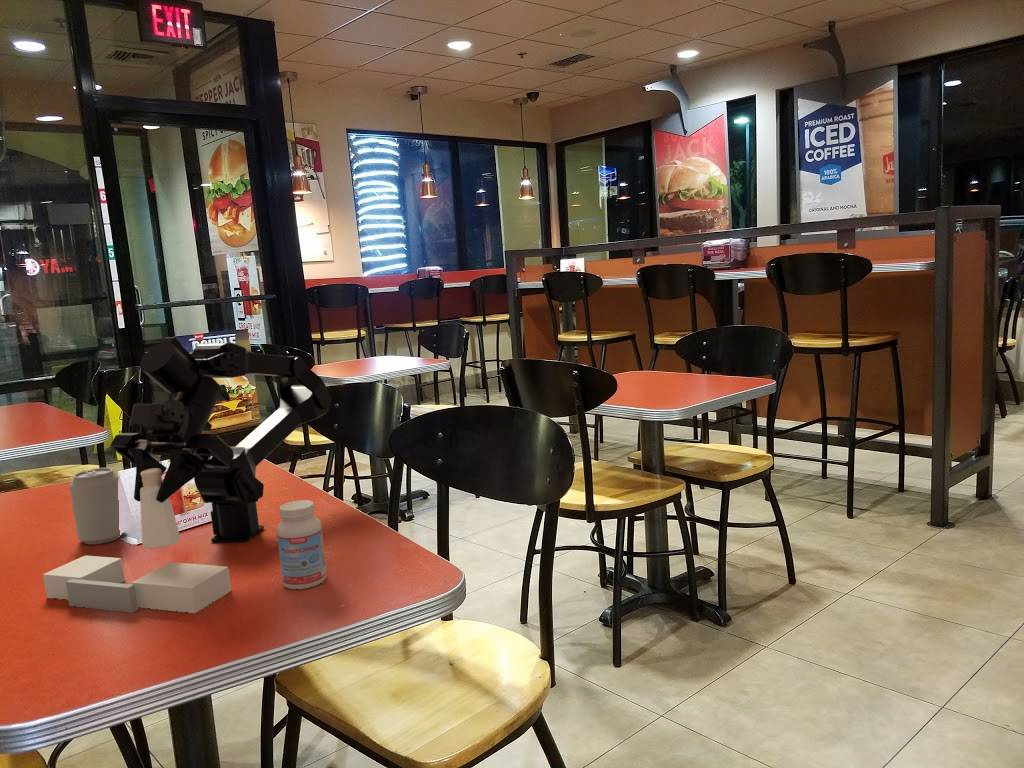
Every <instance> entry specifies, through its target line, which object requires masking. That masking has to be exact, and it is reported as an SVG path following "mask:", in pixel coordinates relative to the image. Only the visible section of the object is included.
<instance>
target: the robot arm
mask: <svg viewBox="0 0 1024 768" xmlns="http://www.w3.org/2000/svg"><path fill="white" fill-rule="evenodd" d="M139 368H140V370H141V371H142V372H143V373H144V374H145V375H147V376H148V377H149V378H150V379H151V380H152V381H154V382H155V384H157V385H158V386H160V388H162V389H163V390H164V391H165V392H166V393H169V394H177V396H176V397H175V399H174V400H173V399H171V400H165V402H164V404H155V403H134V404H133V406H132V410H131V416H130V421H129V427H134V428H136V427H138V428H142V429H145V430H147V432H146V434H148V435H149V436H150V437H151V438H155V441H150V440H149V439H147V438H146V437H145V436H144V435H143V434H141V433H140V432H121V433H118V434H116V435H115V436H114V437H113V440H112V442H111V443H110V445H109V447H110V449H111V450H113V451H115V452H116V453H117V454H118V455H120V456H121V457H123V458H124V459H126V460H127V461H128V462H129V463H131V464H132V465H135V481H134V482H135V483H134V492H133V499H134V500H135V501H137V502H140V489H141V488H142V487H144V486H143V482H142V477H141V474H140V473H141V472H142V471H144V470H147V469H152V468H159V469H161V470H162V472H161V475H162V476H163V475H164V473H165V472H166V473H165V475H164V477H163V478H162V484H161V486H160V489H159V491H158V494H157V498H156V500H157V501H159V502H160V503H162V502H164V501H165V500H166V499H168V498H169V497H171V496H172V495H174V494H175V493H176V492H177V491H179V490H180V489H181V488H182V487H184V486H185V485H186V484H187V483H189V482H191V481H192V480H194V484H195V488H196V489H197V491H198V493H199V494H200V496H201V499H202V501H203V503H205V504H208V503H211V509H212V510H210V519H211V525H212V527H211V528H212V532H213V537H211V538H210V541H211V542H213V543H214V542H215V543H217V542H247V541H249V540H251V539H252V538H253V537H255V536H256V535H257V534H258V533H260V532H261V531H263V529H264V528H265V526H264V525H263V524H260V523H259V516H258V508H257V507H258V506H257V502H259V499H261V498H262V497H264V487H265V485H264V484H263V482H261V481H260V480H259V478H257V477H256V471H257V466H259V464H261V463H262V461H264V460H265V459H266V458H267V457H268V456H270V454H271V453H272V452H273V451H275V449H276V448H277V447H278V446H279V445H281V444H282V442H284V441H285V440H286V439H287V438H288V437H289V436H290V435H291V434H292V433H293V432H294V431H295V430H296V429H297V428H298V427H299V426H301V425H302V424H305V423H309V422H312V421H314V420H317V419H319V418H320V417H322V416H323V415H325V414H327V412H328V411H329V409H330V407H331V403H332V395H331V393H330V391H329V389H328V387H327V385H326V383H325V382H324V380H323V378H321V377H320V376H319V375H317V374H316V373H315V372H314V371H313V370H311V369H310V368H309V367H308V366H307V364H306V362H305V360H304V359H303V358H302V357H300V356H298V355H279V354H278V355H276V354H269V353H261V352H260V353H259V352H253V351H250V350H248V349H247V348H246V347H245V346H242V345H239V344H237V343H233V342H217V343H216V342H213V343H211V342H210V343H209V342H208V343H198V344H196V345H195V347H194V349H193V351H192V352H189V350H187V349H186V348H185V346H183V345H182V343H181V342H180V341H179V340H178V339H177V338H176V337H174V336H173V337H164V338H163V339H162V341H161V343H159V344H156V345H155V346H152V348H151V349H149V350H148V351H147V352H145V353H144V354H143V355H142V356H141V359H140V361H139ZM246 375H256V376H270V377H275V379H276V381H277V389H276V392H277V394H278V395H279V397H280V398H279V407H278V408H277V410H275V411H274V412H273V413H272V414H271V415H269V416H268V418H266V419H265V420H264V421H262V423H261V424H259V425H258V426H257V427H256V428H255V429H254V430H253V431H252V432H250V433H249V434H248V435H247V436H246V437H244V438H243V440H241V441H240V442H239V443H238V444H237V445H235V446H230V445H228V443H227V442H225V440H224V439H222V438H221V437H220V436H219V435H218V434H217V433H203V432H210V431H211V430H212V427H213V424H211V423H210V422H209V420H210V418H211V416H212V413H213V411H214V410H215V407H216V405H217V403H218V402H229V401H230V400H231V397H230V393H229V392H228V389H227V385H226V384H219V383H218V382H217V381H216V379H228V378H229V379H231V378H237V377H244V376H246ZM289 378H290V379H291V378H294V379H296V381H297V382H299V384H293V385H292V384H291V383H290V380H289ZM161 456H169V466H168V468H167V467H166V466H165V465H163V464H162V463H161V462H160V461H161Z"/></svg>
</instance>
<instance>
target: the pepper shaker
mask: <svg viewBox="0 0 1024 768" xmlns="http://www.w3.org/2000/svg"><path fill="white" fill-rule="evenodd" d="M161 472H162V470H161V469H159V468H152V469H147V470H144V471H142V472H141V473H140V474H141V477H142V482H143V486H144V487H142V488H141V489H140V505H139V506H140V525H141V529H140V530H141V544H142V547H143V548H144V549H159V548H163V547H167V546H172V545H174V544H175V543H177V542H179V541H181V536H180V532H179V527H178V524H177V520H176V516H175V513H174V509H173V505H172V501H171V498H170V497H171V496H170V497H169V498H168V499H166V500H165V501H164V502H162V503H160V502H159V501H157V500H156V498H157V494H158V491H159V489H160V486H161V484H162V482H163V474H162V475H161Z"/></svg>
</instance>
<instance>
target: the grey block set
mask: <svg viewBox="0 0 1024 768" xmlns="http://www.w3.org/2000/svg"><path fill="white" fill-rule="evenodd" d="M42 577H43V583H44V588H45V595H46V598H47V597H48V598H47V599H53V598H57V599H56V600H62V599H66V600H65V601H68V605H69V607H74V606H76V607H75V608H83V607H85V608H86V609H92V608H93V610H101V611H102V610H104V611H111V612H112V611H113V612H121V613H131V614H133V613H134V612H136V611H138V610H139V607H140V609H147V608H150V609H149V610H157V609H158V610H159V611H166V610H167V611H170V612H176V611H177V612H178V613H185V612H188V613H187V614H197V613H198V611H199V612H200V611H201V609H202V610H203V609H205V608H206V607H208V606H210V605H211V604H213V603H214V602H216V601H218V600H219V599H221V598H222V597H224V596H225V595H227V594H229V593H230V592H232V587H231V585H232V584H231V578H230V577H231V576H230V571H229V566H225V565H223V566H222V565H213V564H212V565H210V564H209V565H208V564H198V563H187V562H186V563H185V562H174V561H172V562H171V561H170V562H168V563H166V564H164V565H162V566H160V567H159V568H156V569H154V570H153V571H150V572H149V573H147V574H145V575H143V576H140V577H139V578H137V579H136V580H134V581H132V582H131V584H129V583H124V582H126V579H125V572H124V567H123V560H122V558H120V557H109V556H97V555H84V556H81V557H79V558H77V559H74V560H72V561H70V562H67V563H65V564H63V565H61V566H59V567H56V568H54V569H51V570H50V571H47V572H45V573H43V574H42ZM212 602H213V603H212ZM209 604H210V605H209ZM204 607H205V608H204ZM85 608H84V609H85ZM196 612H197V613H196Z"/></svg>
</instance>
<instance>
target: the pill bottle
mask: <svg viewBox="0 0 1024 768" xmlns="http://www.w3.org/2000/svg"><path fill="white" fill-rule="evenodd" d="M278 509H279V510H278V511H279V517H280V519H281V521H280V522H279V524H277V527H276V539H277V540H276V541H277V547H278V548H277V550H278V554H279V555H278V557H279V563H280V564H279V565H280V574H281V581H282V585H283V586H284V587H285V588H287V589H289V590H295V589H299V590H305V589H306V588H307V589H310V587H311V588H314V587H317V586H319V585H320V583H321V584H322V583H324V581H325V580H326V579H327V570H326V569H327V568H326V559H325V557H326V556H325V549H324V539H323V538H324V537H323V527H322V522H321V520H320V519H319V518H317V516H314V515H315V513H316V512H315V511H316V510H315V504H314V501H313V500H308V499H298V500H292V501H288V502H285V503H283V504H281V505H280V506H279V508H278ZM318 584H319V585H318ZM316 585H317V586H316ZM313 586H314V587H313Z"/></svg>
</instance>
